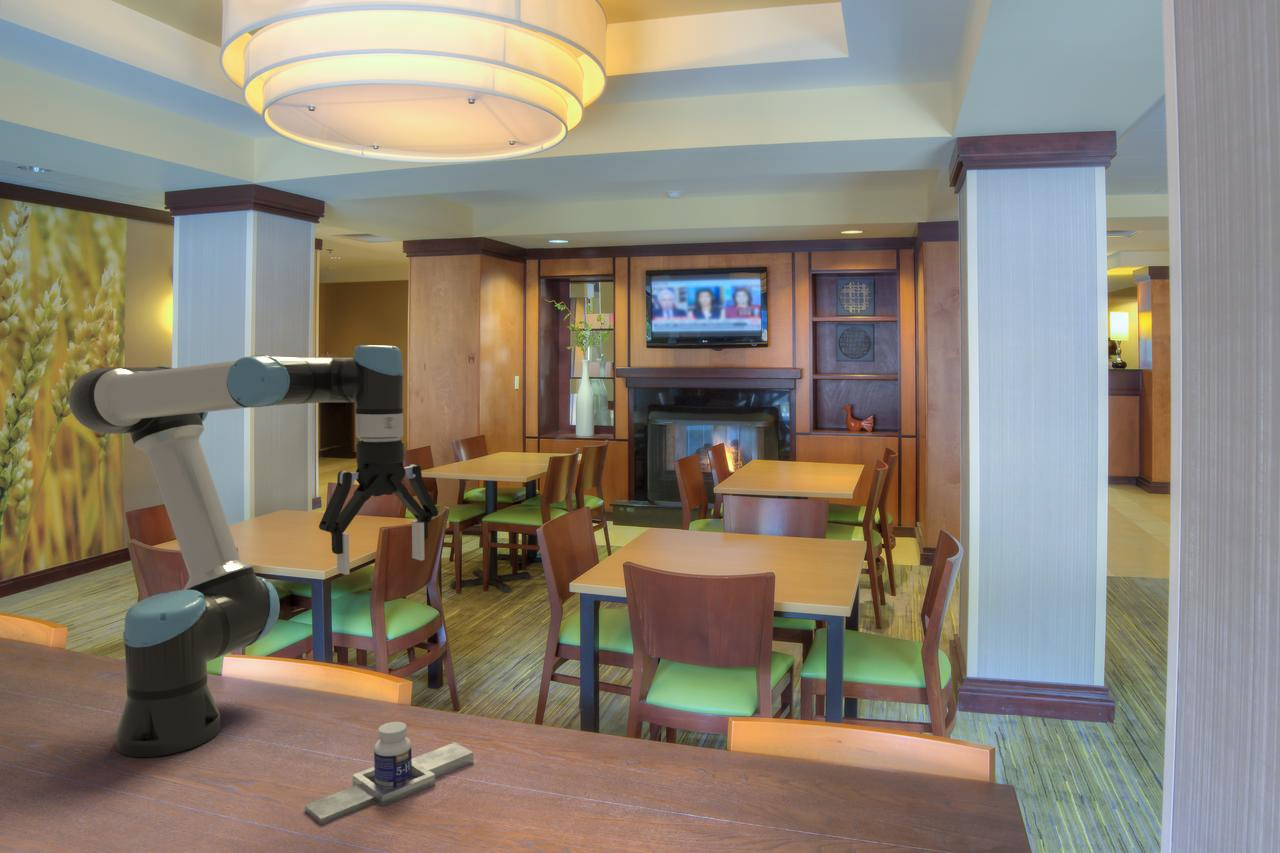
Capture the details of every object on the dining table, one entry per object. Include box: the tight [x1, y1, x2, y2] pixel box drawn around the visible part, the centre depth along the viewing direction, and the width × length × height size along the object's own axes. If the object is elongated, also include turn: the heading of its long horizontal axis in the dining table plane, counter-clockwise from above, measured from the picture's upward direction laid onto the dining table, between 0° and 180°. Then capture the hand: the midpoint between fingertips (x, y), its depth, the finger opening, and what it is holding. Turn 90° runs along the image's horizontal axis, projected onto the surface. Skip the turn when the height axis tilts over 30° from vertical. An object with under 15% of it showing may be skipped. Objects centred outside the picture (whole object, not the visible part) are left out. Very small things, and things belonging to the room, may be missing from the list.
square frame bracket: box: [304, 741, 474, 825], centre depth 122 cm, size 25×9×2 cm, turn 136°
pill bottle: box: [373, 721, 413, 791], centre depth 121 cm, size 5×5×9 cm
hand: (382, 565), depth 137 cm, fingers open, 13 cm apart
